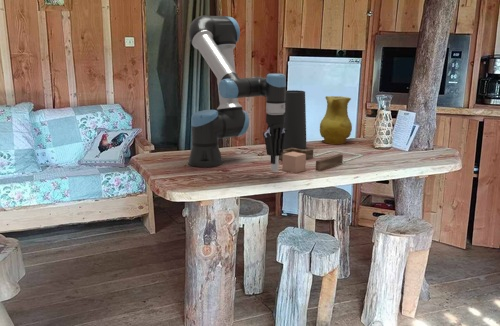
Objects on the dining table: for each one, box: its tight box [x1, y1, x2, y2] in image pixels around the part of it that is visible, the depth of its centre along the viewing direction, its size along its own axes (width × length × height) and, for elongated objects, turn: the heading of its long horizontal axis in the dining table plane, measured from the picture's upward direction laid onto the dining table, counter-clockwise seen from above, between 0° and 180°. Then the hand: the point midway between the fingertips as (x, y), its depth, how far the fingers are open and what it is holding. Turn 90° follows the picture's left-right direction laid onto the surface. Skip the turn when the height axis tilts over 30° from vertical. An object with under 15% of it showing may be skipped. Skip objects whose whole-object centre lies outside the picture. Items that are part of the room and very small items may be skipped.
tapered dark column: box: [283, 89, 307, 150], centre depth 249 cm, size 14×14×29 cm
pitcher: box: [319, 95, 353, 145], centre depth 264 cm, size 17×19×25 cm
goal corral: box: [313, 149, 364, 163], centre depth 233 cm, size 17×16×1 cm
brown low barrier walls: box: [279, 148, 344, 172], centre depth 221 cm, size 26×18×4 cm
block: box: [281, 152, 307, 174], centre depth 207 cm, size 7×7×7 cm
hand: (274, 171), depth 198 cm, fingers closed
